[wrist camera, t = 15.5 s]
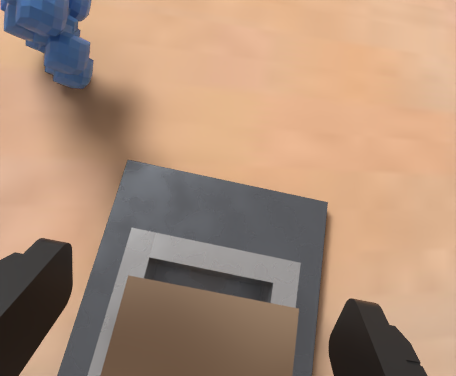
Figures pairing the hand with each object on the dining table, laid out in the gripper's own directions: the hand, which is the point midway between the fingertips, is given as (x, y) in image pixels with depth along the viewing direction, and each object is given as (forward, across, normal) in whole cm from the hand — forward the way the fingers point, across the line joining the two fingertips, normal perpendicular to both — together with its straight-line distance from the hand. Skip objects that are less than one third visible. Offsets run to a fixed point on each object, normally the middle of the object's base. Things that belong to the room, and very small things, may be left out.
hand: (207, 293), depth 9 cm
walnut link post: (+8, 0, -11) cm, 14 cm away
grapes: (+23, -15, +1) cm, 27 cm away
